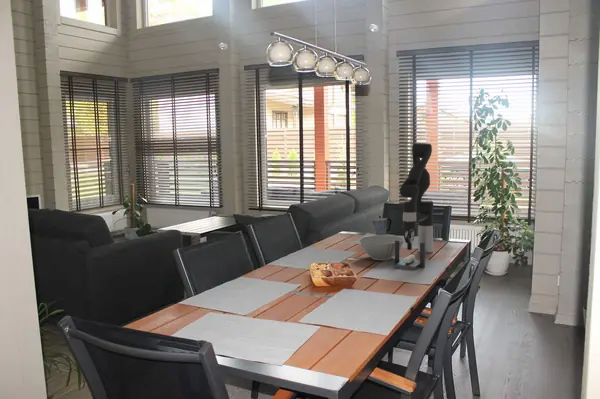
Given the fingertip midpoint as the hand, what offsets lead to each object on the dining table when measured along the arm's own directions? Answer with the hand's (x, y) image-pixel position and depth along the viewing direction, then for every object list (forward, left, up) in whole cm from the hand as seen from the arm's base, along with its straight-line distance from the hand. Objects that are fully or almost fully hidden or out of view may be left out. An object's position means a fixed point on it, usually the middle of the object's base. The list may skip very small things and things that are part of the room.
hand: (409, 249), depth 293 cm
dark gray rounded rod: (0, -8, -10) cm, 12 cm away
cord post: (0, +8, -10) cm, 12 cm away
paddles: (0, 0, -6) cm, 6 cm away
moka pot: (-54, -39, -10) cm, 67 cm away
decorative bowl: (-12, -22, -10) cm, 27 cm away
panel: (0, 0, -10) cm, 10 cm away
